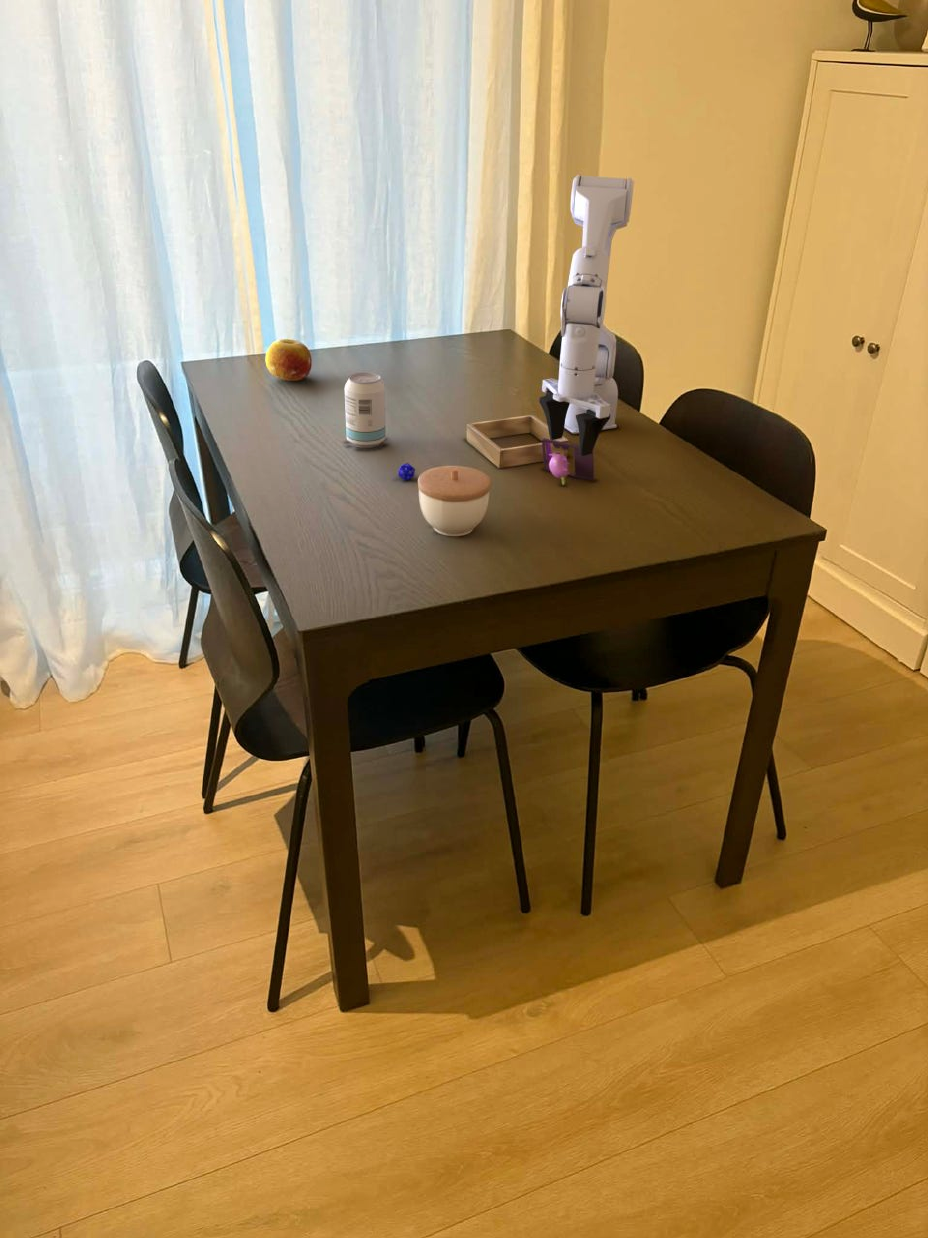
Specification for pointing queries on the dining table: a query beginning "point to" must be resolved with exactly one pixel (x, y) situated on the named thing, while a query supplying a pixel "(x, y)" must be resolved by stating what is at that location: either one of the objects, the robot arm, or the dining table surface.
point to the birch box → (506, 427)
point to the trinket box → (453, 498)
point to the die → (406, 471)
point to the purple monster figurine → (560, 464)
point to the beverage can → (365, 409)
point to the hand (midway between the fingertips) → (570, 446)
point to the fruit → (288, 360)
